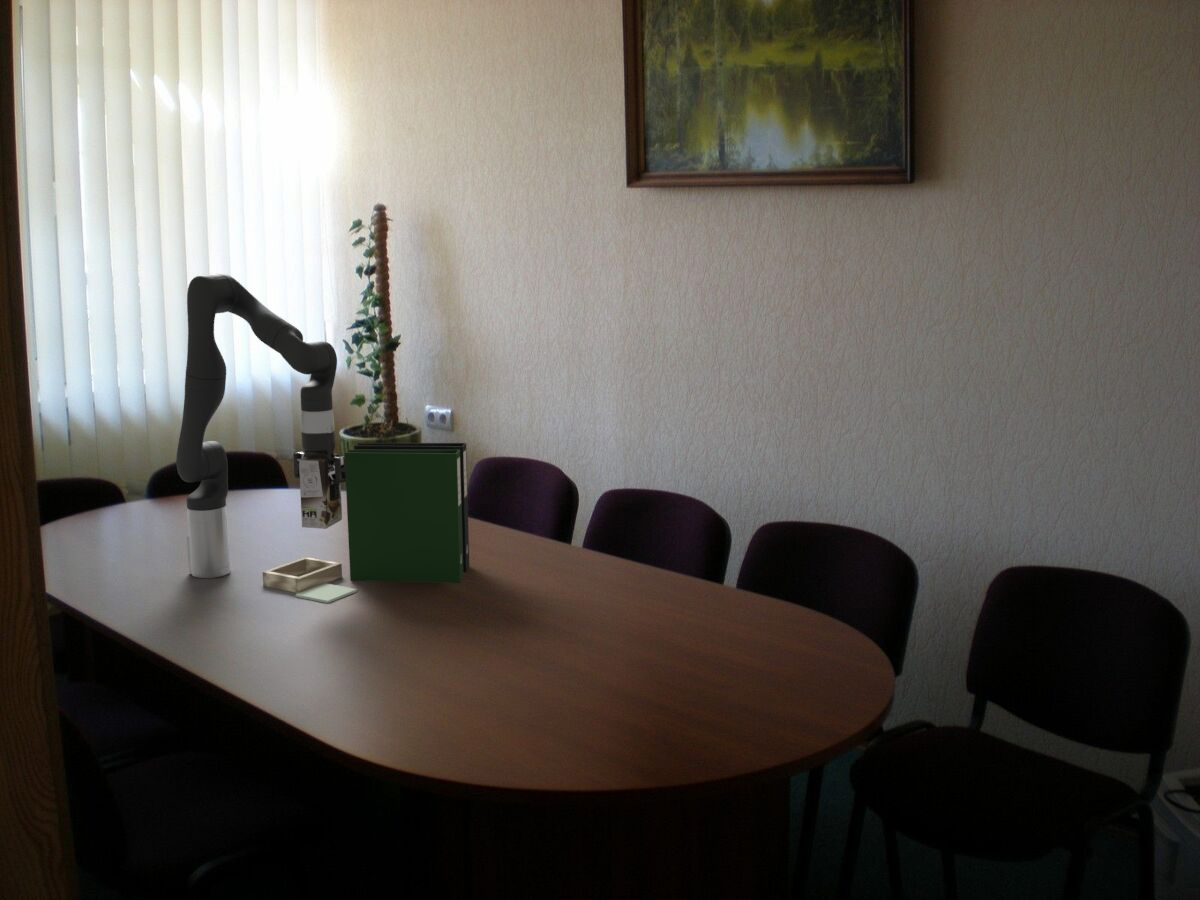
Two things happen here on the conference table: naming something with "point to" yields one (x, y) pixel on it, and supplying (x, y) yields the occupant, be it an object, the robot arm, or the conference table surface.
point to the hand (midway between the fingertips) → (321, 498)
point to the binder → (407, 512)
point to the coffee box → (317, 494)
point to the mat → (326, 593)
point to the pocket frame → (288, 573)
